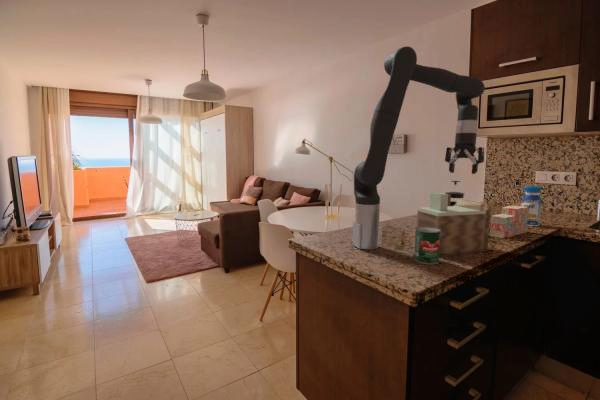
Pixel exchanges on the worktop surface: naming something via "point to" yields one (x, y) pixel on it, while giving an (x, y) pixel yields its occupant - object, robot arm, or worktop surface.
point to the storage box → (456, 232)
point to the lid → (446, 207)
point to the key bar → (472, 205)
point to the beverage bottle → (532, 204)
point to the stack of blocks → (509, 222)
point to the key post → (486, 229)
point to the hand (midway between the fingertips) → (462, 173)
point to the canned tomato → (427, 245)
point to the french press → (455, 194)
